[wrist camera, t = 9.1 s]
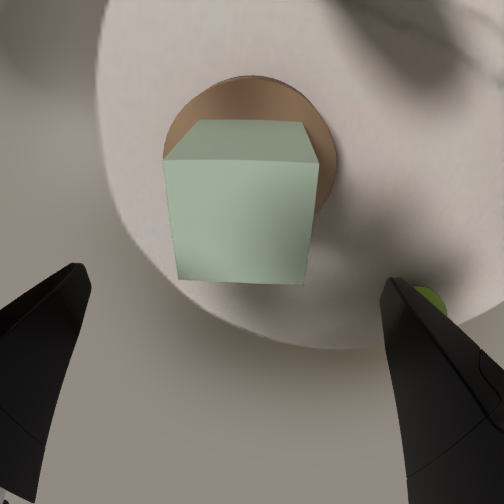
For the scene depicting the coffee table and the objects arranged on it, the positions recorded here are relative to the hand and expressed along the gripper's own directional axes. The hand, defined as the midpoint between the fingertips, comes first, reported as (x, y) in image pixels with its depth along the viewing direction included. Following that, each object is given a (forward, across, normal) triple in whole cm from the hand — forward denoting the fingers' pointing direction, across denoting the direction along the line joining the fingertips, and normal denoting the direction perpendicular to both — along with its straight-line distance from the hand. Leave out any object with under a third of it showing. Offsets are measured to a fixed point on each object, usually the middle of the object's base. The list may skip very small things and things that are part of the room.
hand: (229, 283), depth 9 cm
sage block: (+9, 0, 0) cm, 9 cm away
